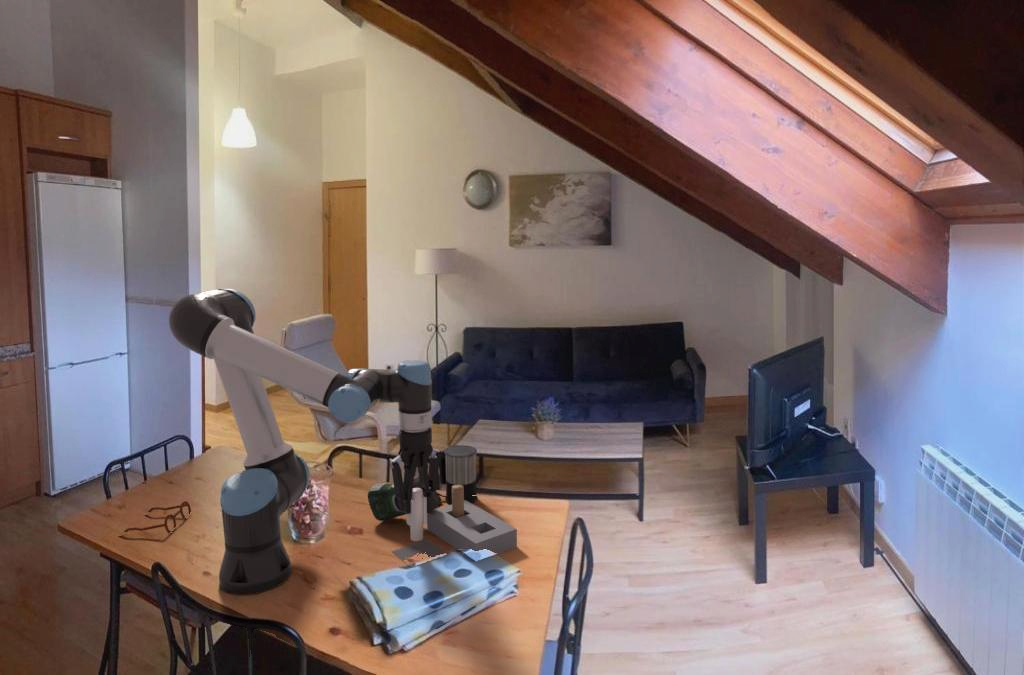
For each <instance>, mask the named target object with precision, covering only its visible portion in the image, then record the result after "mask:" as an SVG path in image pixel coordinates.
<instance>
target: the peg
mask: <svg viewBox="0 0 1024 675" xmlns="http://www.w3.org/2000/svg"><path fill="white" fill-rule="evenodd" d="M412 500H415V527H413V528H412V527H411V526H409V528H410V530H409V531H410V540H411V541H413V542H421V541H423V539H424V524H423V490H422V489H421V488H413V491H412Z"/></svg>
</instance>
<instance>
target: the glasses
mask: <svg viewBox="0 0 1024 675" xmlns="http://www.w3.org/2000/svg"><path fill="white" fill-rule="evenodd" d="M184 507H187V508H188V513H189V514H190V512H191V513H192V508H191V505H190V503H189V501H185V500H184V501H183V502H181V504H179V505H178V504H177V505H174V506H169V507H161V506H155V507H151V508H150V509H148V511H147V512H150V513H152V512H153V511H154V510H155V511H156V510H160V511H168V510H169V511H170V510H174V509H179V510H178V511H176V512H175V513H174V514H168V515H166V516H165V518H164V521H163V522H164V523H160V524H155V525H151V526H146V527H128V528H127V529H125V530H124V531H123V532H127V533H128V532H129V531H141V532H143V531H148V530H153V529H157V528H162V527H164V528H165V531H166V533H167V534H169V533H170V532H171V531H172V530H170V529H169V527H168V520H169V518H171V519H172V521H173V528H175V527H176V528H177V522H176V521H177V520H176V517H178V515H179V514H180V515H181V517H182V519H183V518H185V517H186V516H185V514H184V512H183V508H184Z"/></svg>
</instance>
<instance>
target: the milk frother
mask: <svg viewBox="0 0 1024 675" xmlns="http://www.w3.org/2000/svg"><path fill="white" fill-rule="evenodd" d="M440 451H441V450H440ZM441 452H442V456H441V459H440V461H439V482H440V484H441V485H446V486H445V487H446V488H445V492H446V493H445V495H443V494H441V493H440V492H438V491H436V493H437V496H438V506H437V507H436V508H438V507H440V506H441V504H442V497H443V498H445V499H444V500H445V502H446V503H448V504H449V505H452V486H454V485H463V486H464V501H465V500H466V501H468V502H470V503H472V504H473V505H474V504H475V503H476V502H477V501H478V500H479V498H478V495H477V494H478V493H477V453H478V449H477V448H476V447H474V446H472V445H464V444H463V445H462V444H460V445H459V444H458V445H453V446H448V447H447V448H445V449H444V450H442V451H441ZM472 495H477V496H472Z"/></svg>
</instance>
